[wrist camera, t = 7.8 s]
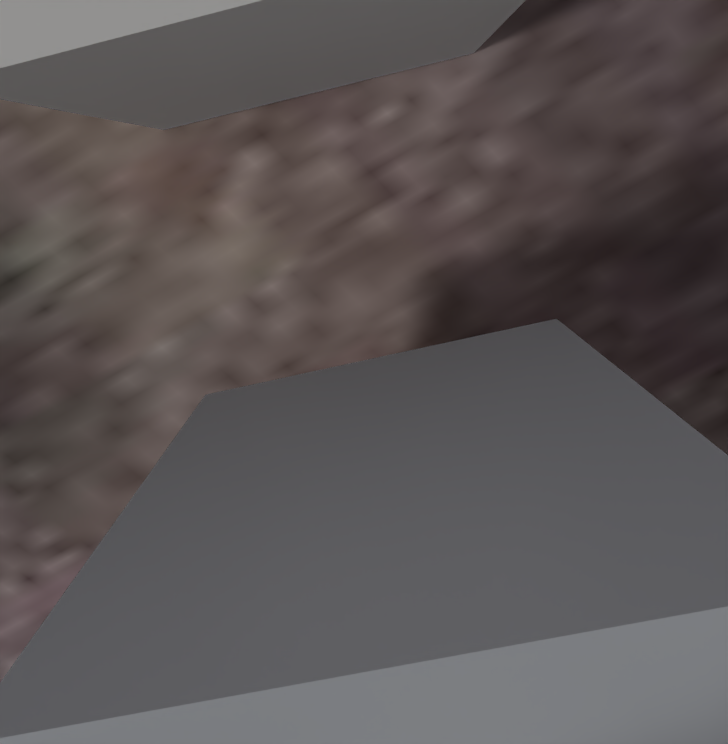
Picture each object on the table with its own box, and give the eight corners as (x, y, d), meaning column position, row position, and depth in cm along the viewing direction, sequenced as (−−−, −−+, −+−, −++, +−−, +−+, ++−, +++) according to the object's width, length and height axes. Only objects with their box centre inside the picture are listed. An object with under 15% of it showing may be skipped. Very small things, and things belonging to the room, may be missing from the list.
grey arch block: (294, 673, 18) (215, 1228, 9) (205, 394, 16) (-46, 746, 6) (598, 618, 18) (871, 1150, 8) (556, 318, 15) (882, 578, 6)
